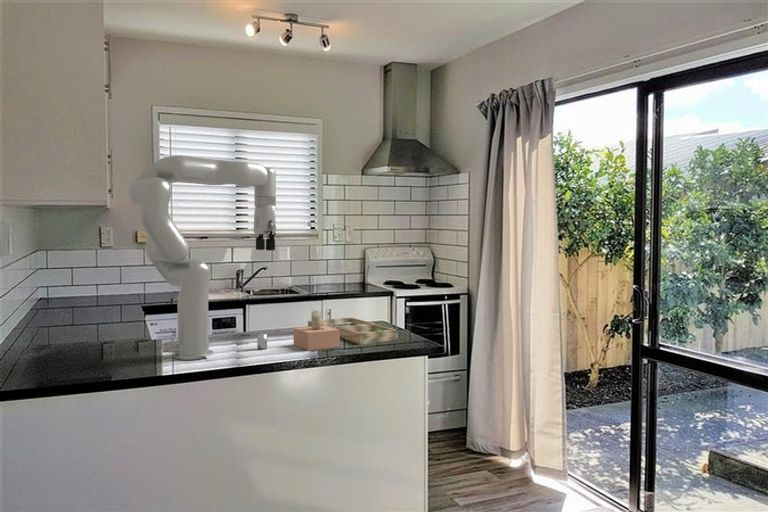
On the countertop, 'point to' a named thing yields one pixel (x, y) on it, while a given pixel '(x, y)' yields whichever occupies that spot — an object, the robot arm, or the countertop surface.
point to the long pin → (316, 320)
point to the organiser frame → (361, 330)
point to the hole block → (316, 338)
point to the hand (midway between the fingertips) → (265, 250)
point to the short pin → (261, 341)
